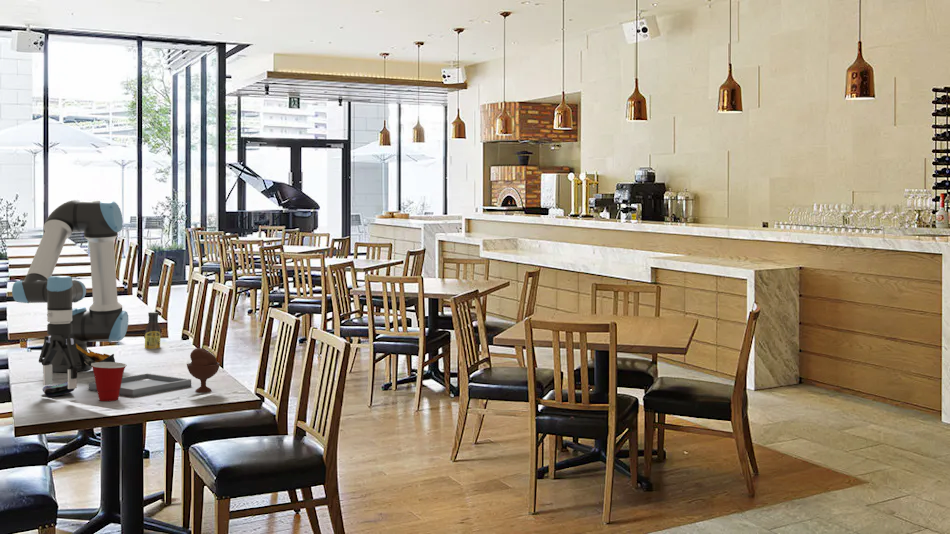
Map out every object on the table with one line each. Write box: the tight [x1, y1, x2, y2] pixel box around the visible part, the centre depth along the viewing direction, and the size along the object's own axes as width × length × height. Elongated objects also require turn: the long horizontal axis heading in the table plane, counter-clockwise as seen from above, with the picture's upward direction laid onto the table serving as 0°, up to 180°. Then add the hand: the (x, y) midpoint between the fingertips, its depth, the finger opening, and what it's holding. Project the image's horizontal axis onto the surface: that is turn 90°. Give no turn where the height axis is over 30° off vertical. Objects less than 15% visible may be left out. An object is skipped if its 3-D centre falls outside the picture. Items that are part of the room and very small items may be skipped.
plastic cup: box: [91, 361, 127, 402], centre depth 288 cm, size 11×11×12 cm
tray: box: [88, 372, 192, 398], centre depth 309 cm, size 24×24×2 cm
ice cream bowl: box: [186, 347, 221, 394], centre depth 303 cm, size 11×11×15 cm
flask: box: [42, 381, 76, 397], centre depth 297 cm, size 9×3×11 cm
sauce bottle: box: [144, 311, 161, 350], centre depth 381 cm, size 6×6×20 cm
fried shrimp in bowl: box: [76, 344, 116, 367], centre depth 334 cm, size 9×11×18 cm
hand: (59, 386), depth 293 cm, fingers open, 13 cm apart
